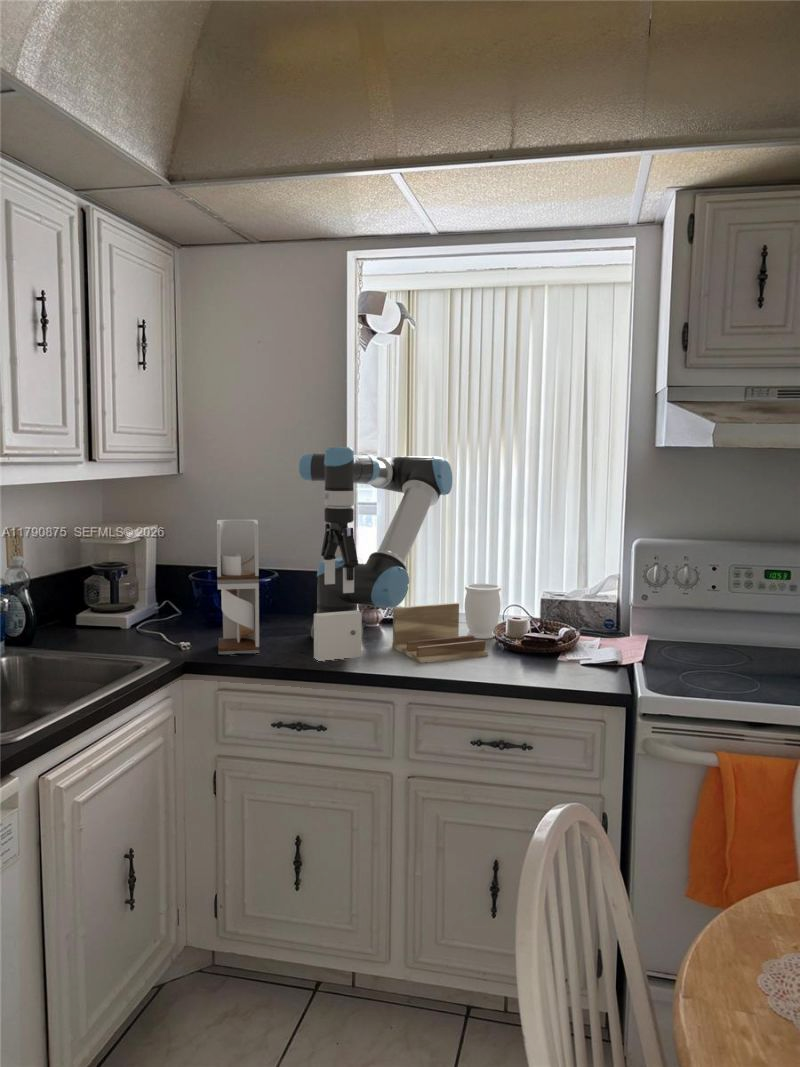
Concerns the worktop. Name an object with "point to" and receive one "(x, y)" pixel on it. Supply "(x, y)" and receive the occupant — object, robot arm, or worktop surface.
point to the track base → (433, 633)
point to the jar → (482, 609)
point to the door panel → (337, 635)
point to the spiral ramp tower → (238, 585)
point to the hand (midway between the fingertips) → (338, 588)
